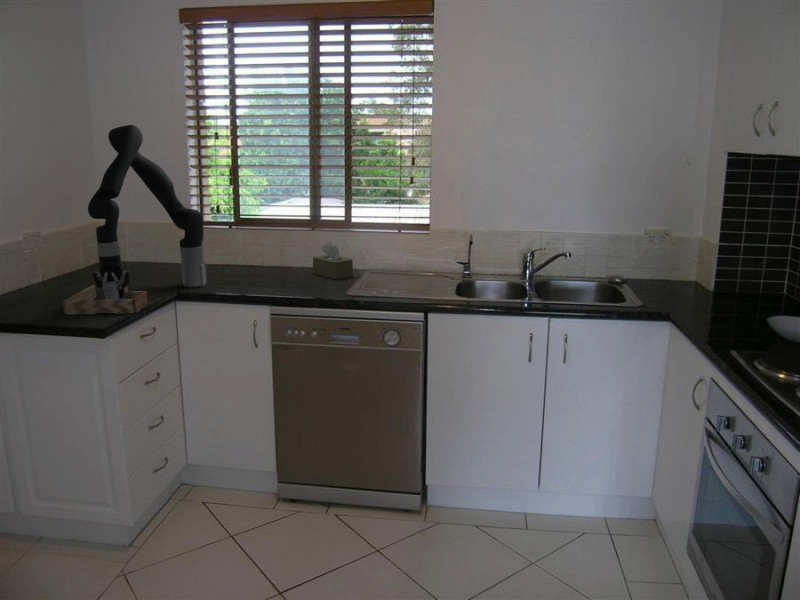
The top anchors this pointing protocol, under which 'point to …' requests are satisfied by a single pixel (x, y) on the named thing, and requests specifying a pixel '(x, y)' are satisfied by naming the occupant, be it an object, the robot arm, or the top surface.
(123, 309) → the channel
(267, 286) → the top surface
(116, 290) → the medicine box
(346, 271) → the tissue box
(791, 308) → the top surface
